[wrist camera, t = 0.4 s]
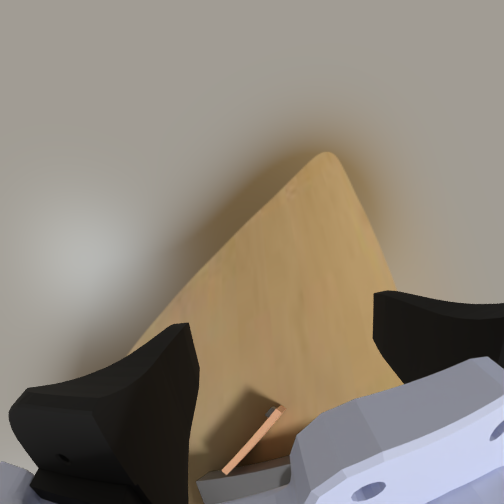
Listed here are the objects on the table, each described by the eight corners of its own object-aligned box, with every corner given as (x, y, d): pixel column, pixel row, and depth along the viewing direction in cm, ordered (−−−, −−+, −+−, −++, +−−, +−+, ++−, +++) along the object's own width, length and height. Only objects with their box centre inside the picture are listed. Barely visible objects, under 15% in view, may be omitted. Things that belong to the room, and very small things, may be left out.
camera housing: (363, 485, 27) (369, 502, 21) (226, 517, 28) (211, 535, 23) (347, 436, 30) (352, 447, 25) (209, 471, 31) (190, 484, 26)
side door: (286, 408, 33) (282, 412, 29) (236, 465, 31) (226, 475, 27) (277, 402, 33) (271, 405, 30) (227, 459, 32) (216, 467, 28)
